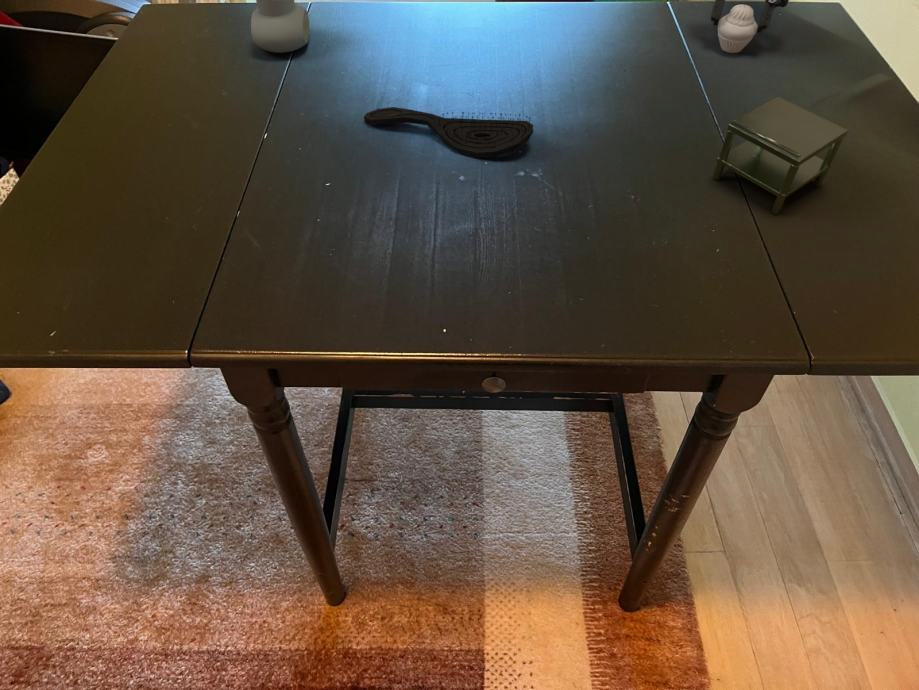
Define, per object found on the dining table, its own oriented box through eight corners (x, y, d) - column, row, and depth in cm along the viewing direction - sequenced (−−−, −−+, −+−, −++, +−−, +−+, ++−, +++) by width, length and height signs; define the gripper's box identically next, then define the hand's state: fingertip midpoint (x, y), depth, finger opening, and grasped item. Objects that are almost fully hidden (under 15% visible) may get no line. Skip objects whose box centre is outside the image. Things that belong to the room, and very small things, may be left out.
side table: (758, 149, 94) (779, 91, 87) (822, 184, 89) (851, 125, 82) (711, 177, 90) (730, 119, 83) (775, 216, 85) (801, 156, 78)
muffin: (758, 50, 111) (773, 7, 106) (732, 61, 109) (745, 17, 104) (730, 35, 115) (742, -8, 109) (703, 45, 113) (715, 2, 107)
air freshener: (264, 30, 118) (250, -32, 110) (312, 28, 118) (301, -33, 111) (255, 62, 111) (238, -2, 104) (306, 60, 111) (293, -3, 104)
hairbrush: (373, 87, 100) (540, 107, 94) (377, 110, 103) (539, 131, 97) (350, 118, 95) (524, 141, 89) (355, 141, 98) (524, 165, 92)
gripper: (725, -103, 104) (692, 10, 106) (826, -92, 100) (789, 25, 102) (720, -77, 111) (690, 29, 113) (814, -65, 107) (781, 43, 109)
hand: (737, 26), depth 108 cm, fingers closed on muffin, 6 cm apart
